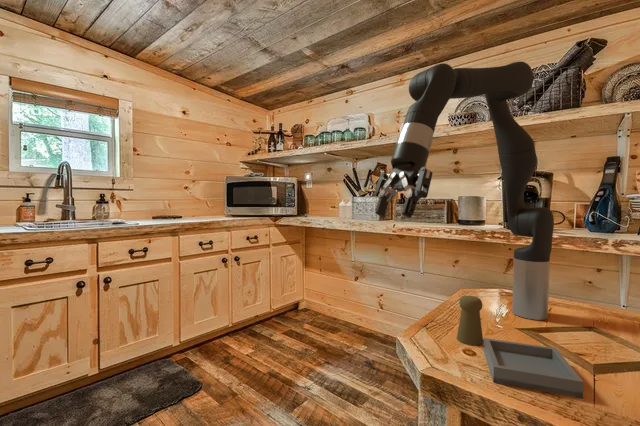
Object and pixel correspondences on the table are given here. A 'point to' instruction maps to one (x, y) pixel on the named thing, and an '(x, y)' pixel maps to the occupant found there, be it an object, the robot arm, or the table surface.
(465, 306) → the cork
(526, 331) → the table surface
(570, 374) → the tray
